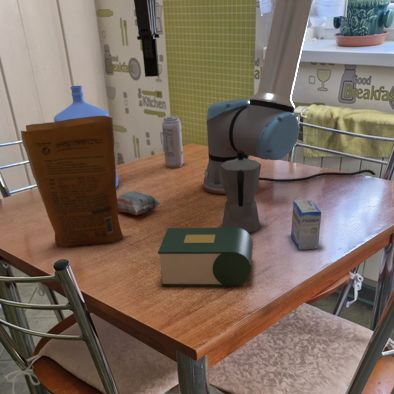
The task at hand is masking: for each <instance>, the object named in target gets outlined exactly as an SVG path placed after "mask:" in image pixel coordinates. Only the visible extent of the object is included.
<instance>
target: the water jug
mask: <svg viewBox="0 0 394 394" xmlns="http://www.w3.org/2000/svg"><path fill="white" fill-rule="evenodd" d="M70 91H71V97H72V103H71V104H70V105H68V106H67V107H66V108H64V109H63V110H61V111H60V112H58V113H57V114H56V115H55V116H54V117H53V122H58V121H63V120H68V119H74V118H83V117H91V116H108V117H110V116H109V112H108V111H107V110H105V109H103V108H101V107H98V106H95V105H93V104H90V103H88V102H86V101H85V97H84V92H83V85H73V86H70ZM118 186H119V176H118V172H117V170H116V188H117V187H118Z"/></svg>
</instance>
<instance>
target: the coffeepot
mask: <svg viewBox="0 0 394 394" xmlns="http://www.w3.org/2000/svg"><path fill="white" fill-rule="evenodd" d="M237 156H238V158H236V159H235V160H230V161H226V162H224V163H223V164H221V165H220V168H221V174H222V180H223V186H224V192H225V194H226V195H225V196H226V201H225V202H224V210H223V214H222V215H223V216H222V223H221V228H222V227H235V228H241V229H243V230H245V231H247V232H248V233H249V234H250V233H254V232H255V231H257V230H258V229H259V227H260V226H261V225H260V217H259V211H258V206H257V201H256V193H257V192H258V187H259V181H260V180H259V177H260V175H261V168H262V163H260V162H259V161H257V160H256V159H250V158H249V159H250V160H249V159H246V158H243V156H244V152H243V151H238V152H237Z"/></svg>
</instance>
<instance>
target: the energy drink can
mask: <svg viewBox="0 0 394 394" xmlns="http://www.w3.org/2000/svg"><path fill="white" fill-rule="evenodd" d="M161 127H162V128H161V129H162V138H163V139H162V140H163V151H164V163H165V165H166V167H167V168H170V169H178V168H180V167H181V168H182V166H183V164H184V150H183V149H184V148H183V135H182V134H183V133H182V123H181V120H180V118H179V116H177V115H170V116H165V117H163V120H162V123H161Z"/></svg>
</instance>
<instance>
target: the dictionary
mask: <svg viewBox="0 0 394 394" xmlns="http://www.w3.org/2000/svg"><path fill="white" fill-rule="evenodd" d="M253 246H254V242H253V238H252V235H250V233H248V232H247V231H245V230H243V229H241V228H235V227H222V226H221V227H167V228H166V231H165V233H164V236H163V239H162V241H161V243H160V246H159V248H158V251H157V254H159V260H160V261H159V262H160V271H161V285H160V286H161V287H204V288H205V287H208V288H209V287H210V288H211V287H216V288H217V287H222V288H223V287H224V288H229V287H231V288H232V287H233V288H234V287H239V286H241V285H243V284H245V283H246V282H247V281H248V280H249V279H250V277H251V274H252V262H253Z"/></svg>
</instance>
